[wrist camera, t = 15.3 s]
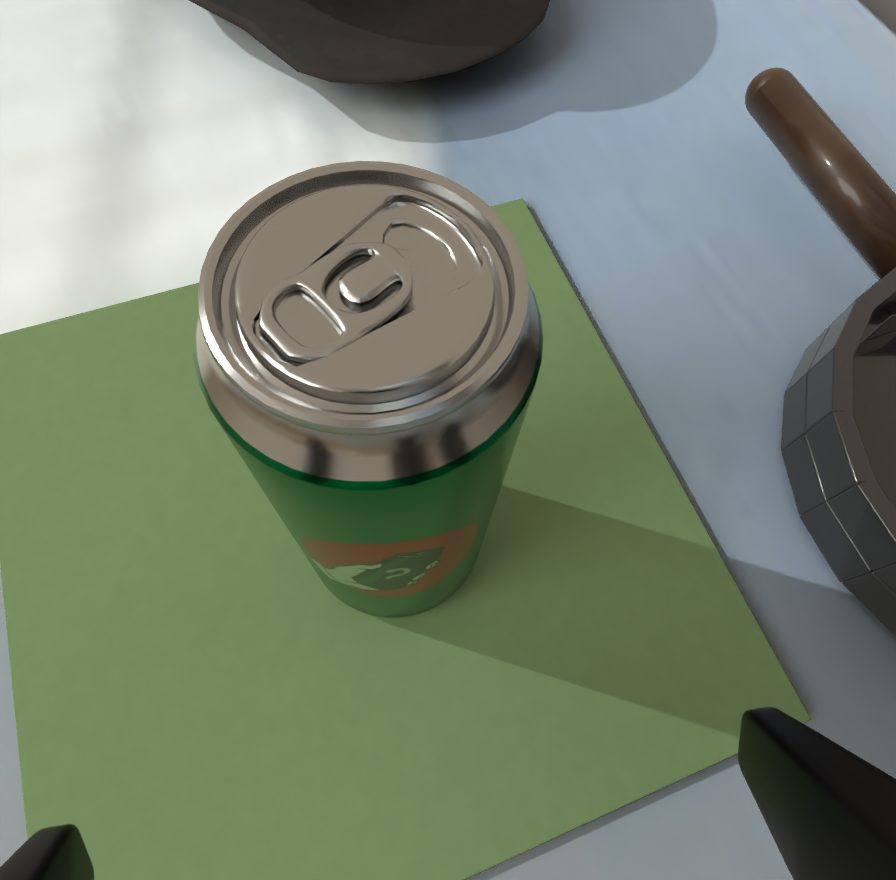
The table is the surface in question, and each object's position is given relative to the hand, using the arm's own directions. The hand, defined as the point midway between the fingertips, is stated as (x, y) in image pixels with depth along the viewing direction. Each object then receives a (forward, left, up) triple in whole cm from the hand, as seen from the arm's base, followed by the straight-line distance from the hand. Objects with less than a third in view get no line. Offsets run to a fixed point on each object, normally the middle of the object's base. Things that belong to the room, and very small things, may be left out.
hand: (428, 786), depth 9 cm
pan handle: (+13, -20, -8) cm, 25 cm away
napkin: (+7, 0, -9) cm, 12 cm away
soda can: (+6, -1, -9) cm, 11 cm away
